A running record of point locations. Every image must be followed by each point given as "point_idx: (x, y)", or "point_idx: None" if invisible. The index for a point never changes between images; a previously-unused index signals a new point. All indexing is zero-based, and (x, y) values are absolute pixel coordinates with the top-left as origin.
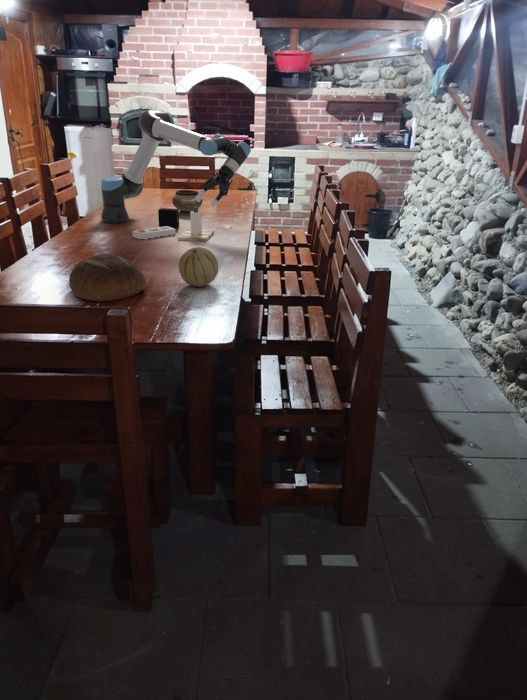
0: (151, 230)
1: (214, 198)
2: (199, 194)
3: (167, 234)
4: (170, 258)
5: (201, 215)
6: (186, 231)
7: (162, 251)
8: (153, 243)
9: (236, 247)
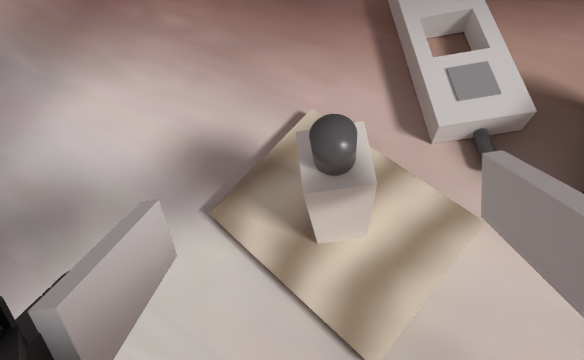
0: (478, 32)
1: (104, 238)
2: (531, 191)
3: (419, 96)
4: (95, 19)
5: (306, 204)
6: (421, 191)
7: (184, 20)
8: (309, 21)
9: (29, 304)
